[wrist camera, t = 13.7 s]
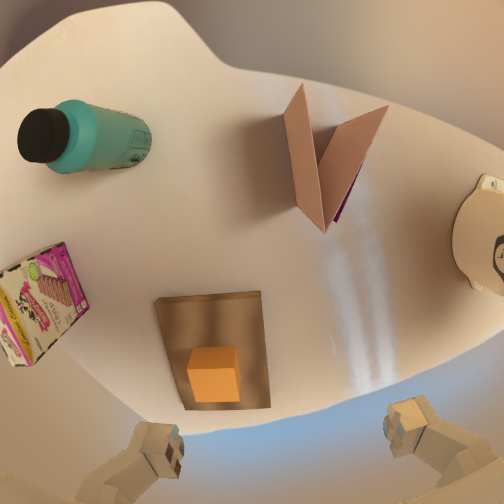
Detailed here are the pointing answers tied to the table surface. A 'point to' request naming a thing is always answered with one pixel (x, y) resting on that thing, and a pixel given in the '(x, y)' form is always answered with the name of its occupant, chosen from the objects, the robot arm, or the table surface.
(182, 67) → the table surface
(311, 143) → the greeting card
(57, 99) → the table surface
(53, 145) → the beverage bottle
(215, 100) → the table surface
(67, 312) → the candy bar box
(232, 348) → the orange wooden cube
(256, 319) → the base plate
